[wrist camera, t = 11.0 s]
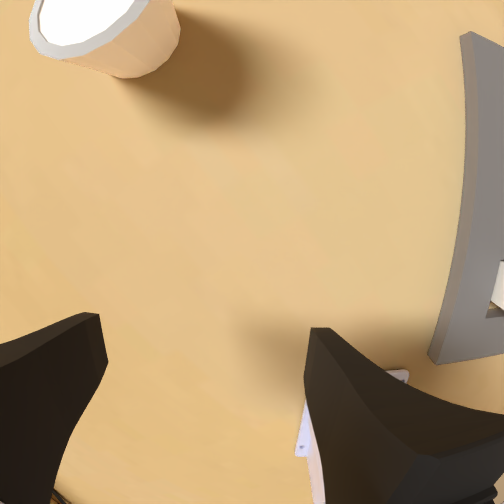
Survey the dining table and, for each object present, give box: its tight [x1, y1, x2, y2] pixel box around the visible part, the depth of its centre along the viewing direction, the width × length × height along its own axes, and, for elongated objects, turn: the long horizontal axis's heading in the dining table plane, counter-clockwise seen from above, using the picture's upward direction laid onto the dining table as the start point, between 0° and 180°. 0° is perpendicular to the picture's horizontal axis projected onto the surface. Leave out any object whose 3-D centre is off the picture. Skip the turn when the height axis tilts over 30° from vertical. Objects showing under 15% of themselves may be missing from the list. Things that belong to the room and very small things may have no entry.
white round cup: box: [29, 0, 181, 78], centre depth 12 cm, size 7×7×7 cm
